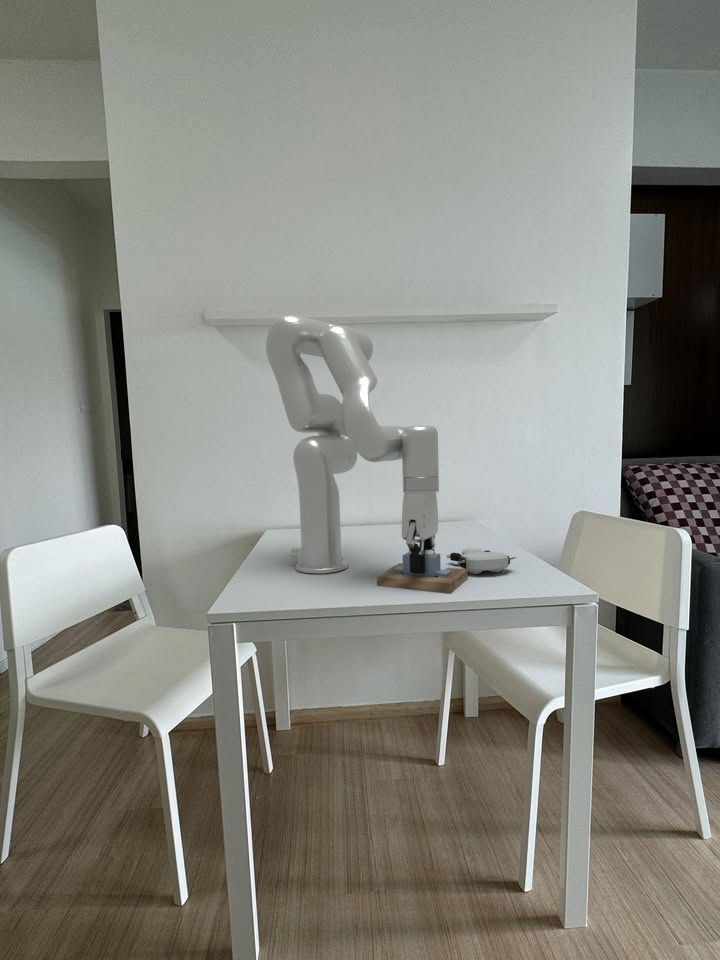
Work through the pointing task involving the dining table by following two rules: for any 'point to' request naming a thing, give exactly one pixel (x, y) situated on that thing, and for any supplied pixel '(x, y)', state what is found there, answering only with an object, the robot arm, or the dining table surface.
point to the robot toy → (481, 560)
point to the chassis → (423, 580)
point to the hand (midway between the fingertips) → (422, 568)
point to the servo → (430, 565)
